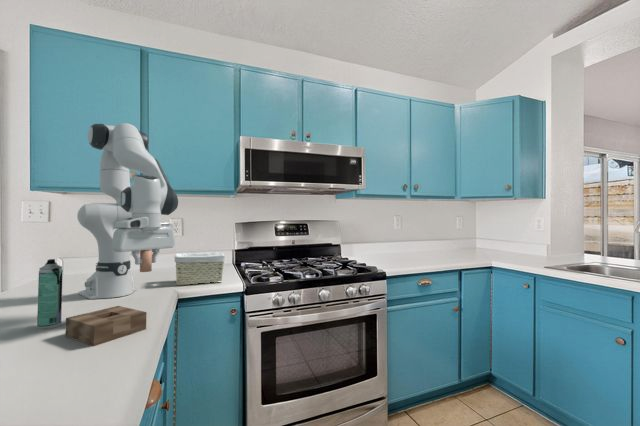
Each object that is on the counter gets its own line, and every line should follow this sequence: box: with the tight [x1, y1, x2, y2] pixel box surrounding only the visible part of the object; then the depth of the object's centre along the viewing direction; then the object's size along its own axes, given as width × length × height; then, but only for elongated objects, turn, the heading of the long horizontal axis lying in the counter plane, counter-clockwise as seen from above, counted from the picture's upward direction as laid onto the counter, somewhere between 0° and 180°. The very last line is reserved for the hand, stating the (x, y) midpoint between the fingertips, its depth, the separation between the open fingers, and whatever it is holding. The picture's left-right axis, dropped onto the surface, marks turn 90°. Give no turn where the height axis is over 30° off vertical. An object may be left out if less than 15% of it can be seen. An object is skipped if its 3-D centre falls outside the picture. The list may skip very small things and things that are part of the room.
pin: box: [139, 250, 153, 273], centre depth 106 cm, size 4×4×7 cm
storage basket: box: [174, 251, 226, 286], centre depth 162 cm, size 24×16×15 cm
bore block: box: [65, 305, 147, 347], centre depth 89 cm, size 14×14×5 cm
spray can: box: [36, 258, 64, 330], centre depth 95 cm, size 6×6×20 cm
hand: (145, 263), depth 106 cm, fingers closed on pin, 3 cm apart
